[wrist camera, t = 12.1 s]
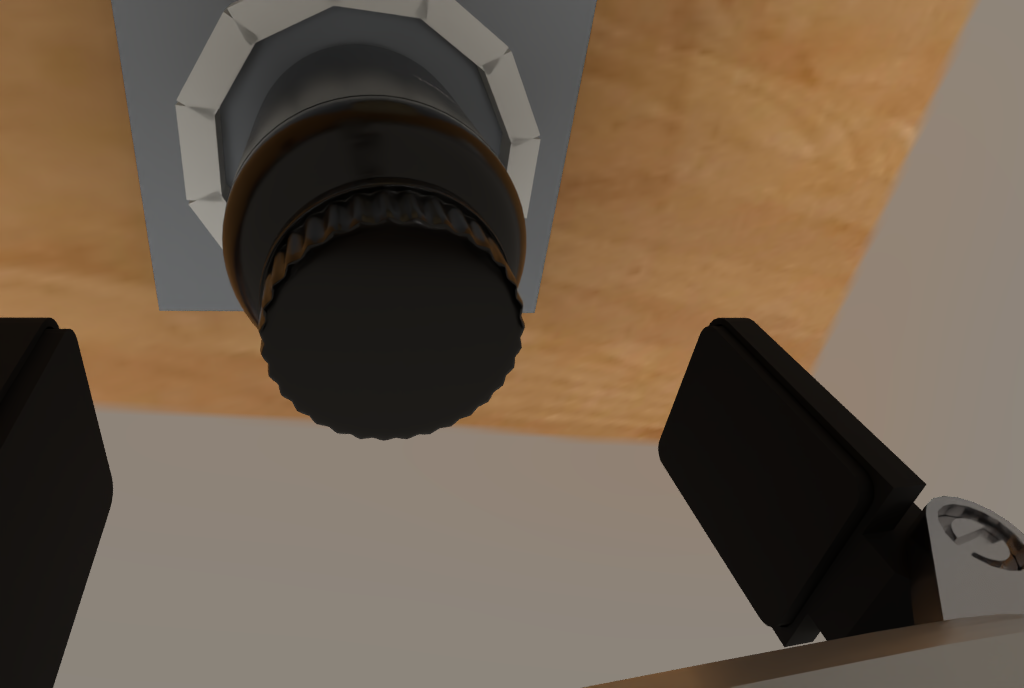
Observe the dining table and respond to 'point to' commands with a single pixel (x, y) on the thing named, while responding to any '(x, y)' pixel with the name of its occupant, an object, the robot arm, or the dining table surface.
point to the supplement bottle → (375, 246)
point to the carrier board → (294, 35)
